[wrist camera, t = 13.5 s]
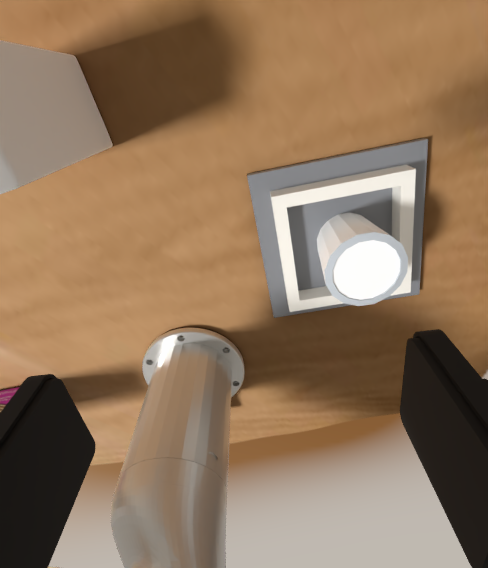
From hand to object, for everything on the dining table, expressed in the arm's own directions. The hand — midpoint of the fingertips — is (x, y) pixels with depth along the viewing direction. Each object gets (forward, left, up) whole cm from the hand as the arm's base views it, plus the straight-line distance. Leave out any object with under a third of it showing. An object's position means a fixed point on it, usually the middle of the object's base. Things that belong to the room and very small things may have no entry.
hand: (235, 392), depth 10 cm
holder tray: (-8, -9, -26) cm, 29 cm away
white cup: (-8, -9, -26) cm, 28 cm away
